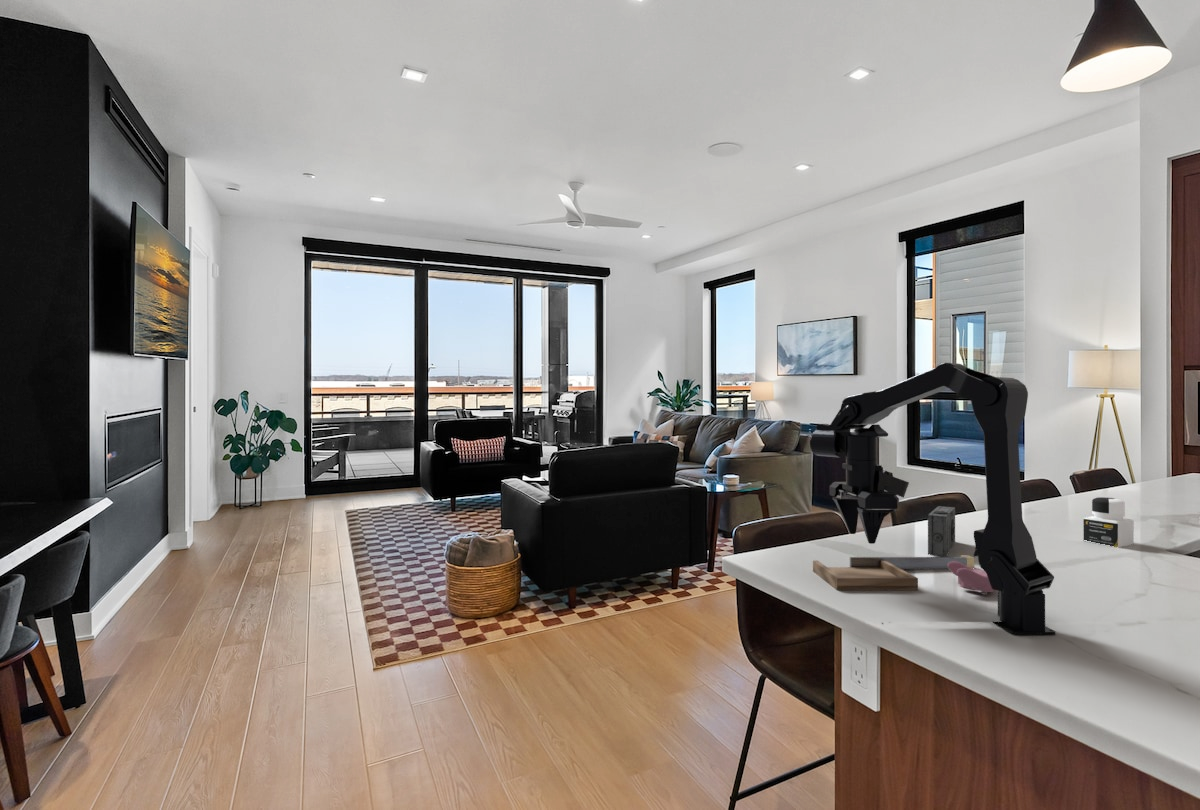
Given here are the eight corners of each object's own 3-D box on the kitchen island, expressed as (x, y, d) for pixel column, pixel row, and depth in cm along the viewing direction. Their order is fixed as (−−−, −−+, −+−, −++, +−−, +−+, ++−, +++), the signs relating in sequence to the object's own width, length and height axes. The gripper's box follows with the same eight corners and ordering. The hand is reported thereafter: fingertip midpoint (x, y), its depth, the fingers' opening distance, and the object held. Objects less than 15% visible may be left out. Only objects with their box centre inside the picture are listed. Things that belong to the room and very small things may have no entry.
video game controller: (957, 593, 111) (1002, 597, 108) (957, 568, 111) (1001, 571, 109) (947, 583, 120) (988, 587, 118) (946, 559, 120) (987, 562, 118)
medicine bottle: (1082, 546, 149) (1082, 497, 149) (1099, 543, 152) (1099, 495, 152) (1117, 552, 142) (1117, 501, 142) (1134, 549, 145) (1134, 499, 145)
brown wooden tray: (917, 590, 114) (917, 578, 114) (837, 590, 114) (837, 578, 114) (885, 571, 127) (885, 560, 127) (813, 571, 127) (812, 560, 127)
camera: (946, 561, 135) (946, 516, 135) (926, 559, 137) (926, 514, 137) (956, 547, 148) (956, 506, 148) (937, 545, 150) (937, 504, 150)
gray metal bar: (974, 569, 127) (974, 557, 127) (851, 569, 127) (851, 557, 127) (967, 566, 129) (967, 555, 129) (846, 566, 129) (846, 555, 129)
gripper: (927, 463, 111) (928, 549, 111) (880, 455, 130) (881, 529, 130) (866, 463, 111) (866, 549, 111) (828, 455, 130) (828, 529, 130)
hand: (861, 538), depth 121 cm, fingers open, 8 cm apart
